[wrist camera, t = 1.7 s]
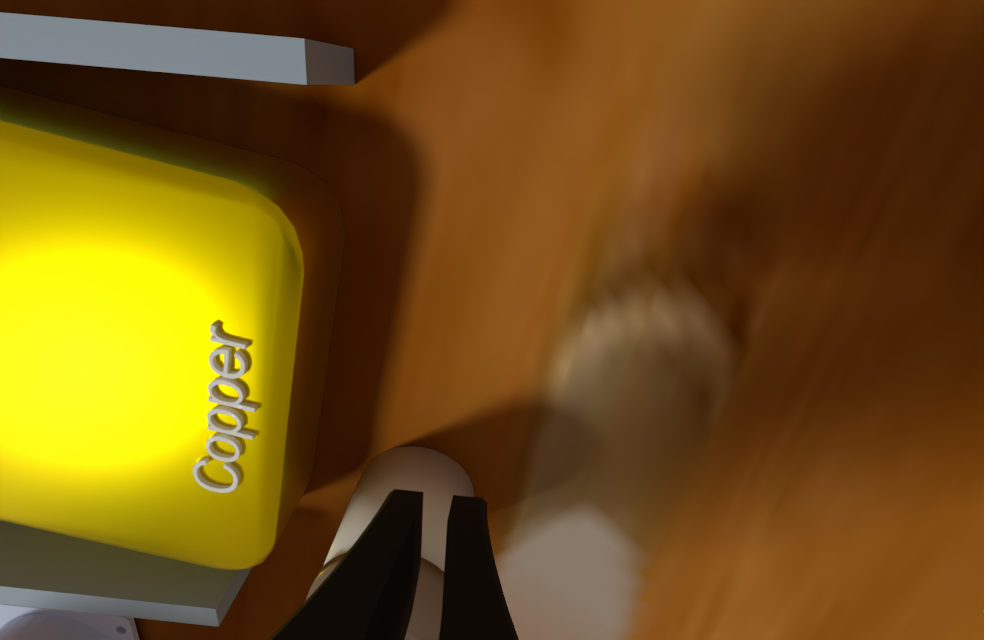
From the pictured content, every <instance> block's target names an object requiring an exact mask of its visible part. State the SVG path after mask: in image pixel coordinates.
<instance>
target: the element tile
mask: <svg viewBox="0 0 984 640" xmlns="http://www.w3.org/2000/svg"><path fill="white" fill-rule="evenodd" d="M344 242H345V224H344V219H343V215H342V211H341V208H340V204H339V201H338V199H337V198H336V196H335V195H334V193H333V192H332V191H331V189H330V188H329V186H328V185H327V183H326V182H324V181H323V180H322V179H320V178H319V177H318V176H316V175H315V174H313V173H312V172H311V171H309V170H308V169H306V168H304V167H302V166H300V165H297V164H295V163H293V162H290V161H287V160H283V159H279V158H276V157H272V156H268V155H264V154H260V153H256V152H253V151H249V150H245V149H241V148H237V147H233V146H229V145H226V144H222V143H218V142H214V141H210V140H206V139H203V138H199V137H195V136H191V135H187V134H183V133H179V132H176V131H172V130H168V129H164V128H160V127H156V126H153V125H149V124H145V123H141V122H137V121H133V120H130V119H126V118H122V117H118V116H114V115H110V114H106V113H103V112H99V111H95V110H91V109H87V108H83V107H80V106H76V105H72V104H68V103H64V102H60V101H56V100H53V99H49V98H45V97H41V96H37V95H33V94H30V93H26V92H22V91H18V90H14V89H10V88H7V87H3V86H0V520H1V521H5V522H10V523H14V524H19V525H23V526H27V527H32V528H36V529H41V530H45V531H50V532H54V533H59V534H63V535H68V536H72V537H76V538H81V539H85V540H90V541H94V542H99V543H103V544H108V545H112V546H116V547H121V548H125V549H130V550H134V551H139V552H143V553H148V554H152V555H157V556H161V557H165V558H170V559H174V560H179V561H183V562H188V563H192V564H197V565H201V566H206V567H210V568H215V569H224V570H240V569H249V568H252V567H254V566H256V565H258V564H260V563H262V562H263V561H264V560H265V559H266V558H267V557H268V556H269V554H270V553H271V552H272V551H273V549H274V548H275V546H276V544H277V542H278V540H279V539H280V537H281V535H282V533H283V531H284V529H285V527H286V526H287V524H288V522H289V520H290V518H291V516H292V515H293V513H294V511H295V509H296V507H297V505H298V503H299V502H300V500H301V498H302V496H303V494H304V492H305V490H306V489H307V487H308V485H309V482H310V479H311V476H312V473H313V467H314V459H315V452H316V445H317V438H318V430H319V423H320V416H321V409H322V402H323V394H324V387H325V380H326V373H327V365H328V358H329V351H330V344H331V336H332V329H333V322H334V315H335V307H336V300H337V293H338V286H339V279H340V271H341V264H342V257H343V250H344Z"/></svg>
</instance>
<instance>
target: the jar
mask: <svg viewBox="0 0 984 640" xmlns="http://www.w3.org/2000/svg"><path fill="white" fill-rule="evenodd" d="M394 489H399V490H409V491H419V492H423V518H422V546H421V566H420V571H419V577H418V582H417V588H416V594H415V599H414V604H413V610H412V614H411V618H410V622H409V625H408V629H407V632H406V636H405V639H404V640H438V639H439V633H440V626H441V617H442V601H443V584H444V568H445V551H446V535H447V520H448V516H449V511H450V507H451V502H452V498H453V495H458V496H468V497H474V489H473V485H472V482H471V480H470V478H469V476H468V475H467V473H466V472H465V470H464V469H463V468H462V467H461V466H460V465H459V464H458V463H457V462H455V461H454V460H453V459H451V458H450V457H448V456H447V455H445V454H443V453H441V452H438V451H435V450H433V449H429V448H425V447H418V446H404V447H397V448H393V449H390V450H387V451H385V452H382V453H380V454H379V455H377V456H376V457H374V458H373V459H372V460H371V461H370V462H369V463H368V464H367V465H366V467H365V468H364V470H363V472H362V474H361V476H360V479H359V481H358V484H357V486H356V488H355V491H354V493H353V496H352V498H351V500H350V503H349V505H348V508H347V510H346V512H345V515H344V517H343V519H342V522H341V524H340V527H339V529H338V531H337V534H336V536H335V539H334V541H333V543H332V546H331V548H330V550H329V553H328V555H327V558H326V560H325V562H324V565H323V567H322V568H321V569H320V570H319V572H318V573H317V575H316V576H315V578H314V581H313V583H312V585H311V588H310V590H309V593H308V595H307V597H306V600H307V599H308V598H309V597H310V596H311V595H312V594H313V593H314V591H315V590H316V589H317V588H318V587H319V586H320V585H321V583H322V582H323V581H324V580H325V579H326V578H327V577H328V576H329V574H330V573H331V572H332V571H333V570H334V568H335V567H336V566H337V565H338V564H339V562H340V561H341V560H342V558H343V557H344V556H345V555H346V553H347V552H348V551H349V550H350V548H351V547H352V546H353V545H354V543H355V542H356V541H357V539H358V538H359V537H360V535H361V534H362V533H363V531H364V530H365V529H366V527H367V526H368V525H369V523H370V522H371V520H372V519H373V517H374V516H375V515H376V513H377V512H378V510H379V509H380V507H381V505H382V504H383V502H384V501H385V499H386V498H387V496H388V494H389V493H390V492H391V491H393V490H394ZM305 602H306V601H305Z"/></svg>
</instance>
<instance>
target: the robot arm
mask: <svg viewBox="0 0 984 640" xmlns="http://www.w3.org/2000/svg"><path fill="white" fill-rule="evenodd" d="M422 518H423V492H419V491H409V490H399V489H394V490H393V491H391V492H390V493H389V494H388V496H387V498H386V499H385V501H384V502H383V504H382V505H381V507H380V509H379V510H378V512H377V513H376V515H375V516H374V517H373V519H372V520H371V522H370V523H369V525H368V526H367V527H366V529H365V530H364V531H363V533H362V534H361V535H360V537H359V538H358V539H357V541H356V542H355V543H354V545H353V546H352V547H351V548H350V550H349V551H348V552H347V553H346V555H345V556H344V557H343V558H342V560H341V561H340V562H339V564H338V565H337V566H336V567H335V568H334V570H333V571H332V572H331V573H330V574H329V576H328V577H327V578H326V579H325V580H324V581H323V582H322V583H321V585H320V586H319V587H318V588H317V589H316V590H315V591H314V593H313V594H312V595H311V596H310V597H309V598H308V599H307V600H306V602H305V603H304V604H303V605H302V606H301V607H300V608H299V609H298V610H297V611H296V612H295V613H294V614H293V616H292V617H291V618H290V619H289V620H288V621H287V622H286V623H285V624H284V625H283V626H282V627H281V628H280V629H279V630H278V631H277V632H276V633H275V634H274V635H273V636H272V637H271V638H270V639H269V640H404V639H405V636H406V632H407V629H408V625H409V622H410V618H411V614H412V610H413V604H414V599H415V594H416V588H417V582H418V577H419V571H420V566H421V546H422ZM0 640H140V639H139V636H138V632H137V628H136V625H135V621H134V618H132V617H123V616H114V615H104V614H95V613H86V612H77V611H67V610H58V609H49V608H39V607H30V606H21V605H11V604H2V603H0ZM438 640H519V639H518V636H517V634H516V631H515V628H514V625H513V622H512V619H511V616H510V614H509V610H508V607H507V604H506V601H505V597H504V594H503V591H502V587H501V583H500V580H499V576H498V572H497V568H496V565H495V560H494V556H493V552H492V546H491V541H490V536H489V529H488V521H487V503H486V501H485V500H484V499H483V498H478V497H468V496H458V495H453V498H452V502H451V507H450V511H449V516H448V520H447V535H446V551H445V568H444V584H443V601H442V617H441V626H440V633H439V639H438Z"/></svg>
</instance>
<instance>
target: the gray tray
mask: <svg viewBox="0 0 984 640" xmlns="http://www.w3.org/2000/svg"><path fill="white" fill-rule="evenodd" d="M0 58H8V59H19V60H30V61H42V62H53V63H64V64H76V65H87V66H99V67H110V68H121V69H133V70H144V71H155V72H167V73H178V74H189V75H201V76H212V77H224V78H235V79H246V80H258V81H269V82H280V83H292V84H303V85H354V49H353V48H348V47H343V46H338V45H333V44H328V43H324V42H319V41H314V40H309V39H304V38H292V37H281V36H269V35H258V34H246V33H234V32H223V31H211V30H200V29H188V28H177V27H165V26H153V25H142V24H130V23H119V22H107V21H96V20H84V19H72V18H61V17H49V16H38V15H26V14H14V13H3V12H0ZM251 569H252V568H249V569H240V570H224V569H215V568H210V567H206V566H201V565H197V564H192V563H188V562H183V561H179V560H174V559H170V558H165V557H161V556H157V555H152V554H148V553H143V552H139V551H134V550H130V549H125V548H121V547H116V546H112V545H108V544H103V543H99V542H94V541H90V540H85V539H81V538H76V537H72V536H68V535H63V534H59V533H54V532H50V531H45V530H41V529H36V528H32V527H27V526H23V525H19V524H14V523H10V522H5V521H1V520H0V603H2V604H11V605H21V606H30V607H39V608H49V609H58V610H67V611H77V612H86V613H95V614H104V615H114V616H123V617H132V618H142V619H151V620H160V621H169V622H179V623H188V624H197V625H207V626H216V627H219V626H220V624H221V622H222V620H223V618H224V617H225V615H226V613H227V611H228V610H229V608H230V606H231V604H232V602H233V601H234V599H235V597H236V595H237V594H238V592H239V590H240V588H241V586H242V585H243V583H244V581H245V579H246V578H247V576H248V574H249V572H250V571H251Z"/></svg>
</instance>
